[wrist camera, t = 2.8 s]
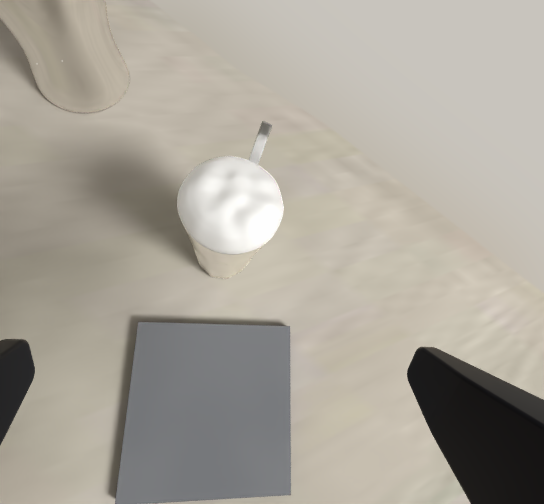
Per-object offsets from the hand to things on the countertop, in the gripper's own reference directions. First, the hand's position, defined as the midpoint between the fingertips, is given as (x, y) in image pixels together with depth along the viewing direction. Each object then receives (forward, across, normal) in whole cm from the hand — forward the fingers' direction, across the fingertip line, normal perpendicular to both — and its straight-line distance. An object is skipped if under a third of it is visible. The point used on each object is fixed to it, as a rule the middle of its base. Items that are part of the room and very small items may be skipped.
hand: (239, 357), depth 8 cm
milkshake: (+14, 0, -5) cm, 15 cm away
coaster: (+7, 0, -11) cm, 13 cm away
